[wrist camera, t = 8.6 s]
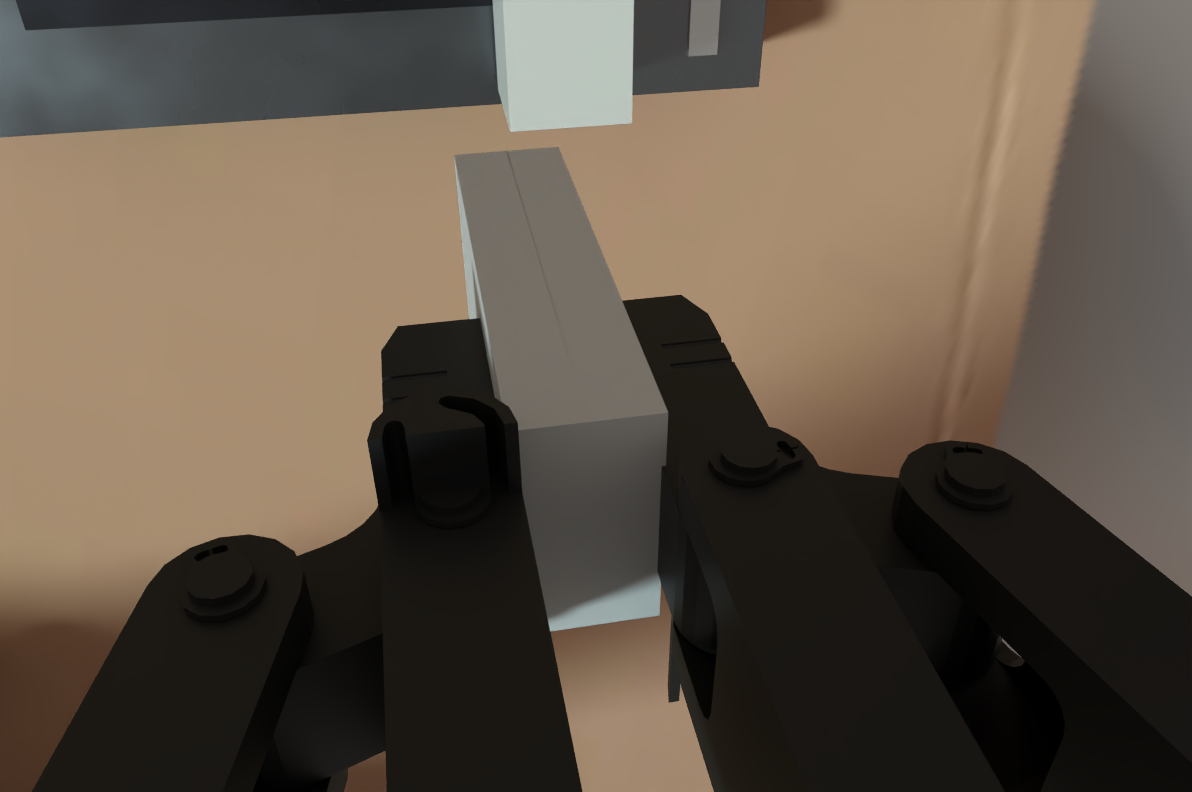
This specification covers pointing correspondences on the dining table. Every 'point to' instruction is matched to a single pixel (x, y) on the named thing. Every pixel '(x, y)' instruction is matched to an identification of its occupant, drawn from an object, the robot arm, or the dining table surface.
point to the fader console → (312, 58)
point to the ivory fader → (564, 62)
